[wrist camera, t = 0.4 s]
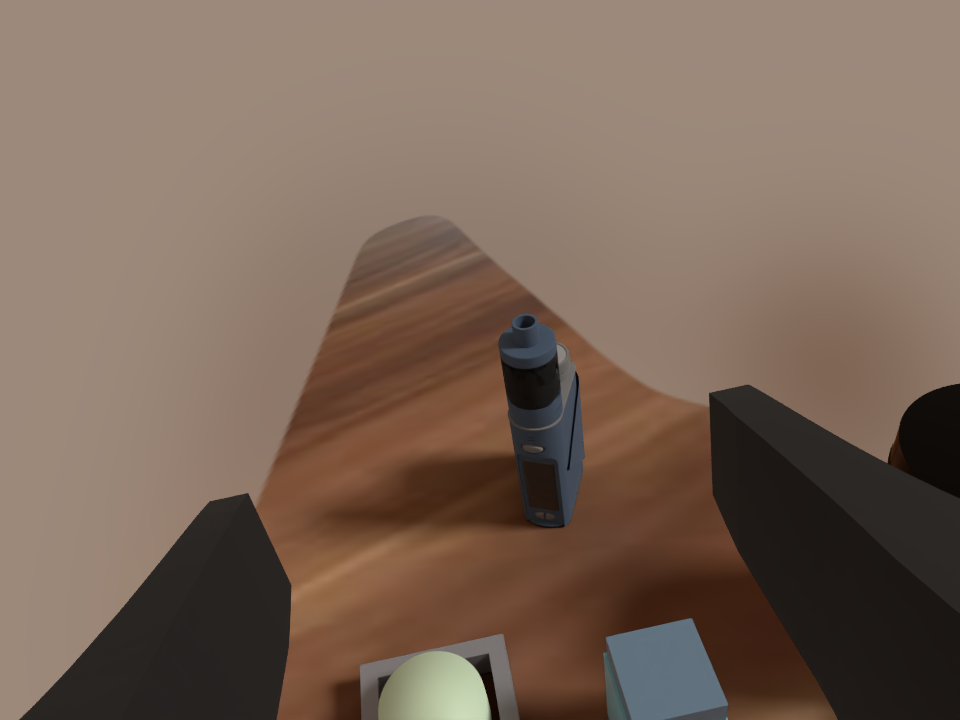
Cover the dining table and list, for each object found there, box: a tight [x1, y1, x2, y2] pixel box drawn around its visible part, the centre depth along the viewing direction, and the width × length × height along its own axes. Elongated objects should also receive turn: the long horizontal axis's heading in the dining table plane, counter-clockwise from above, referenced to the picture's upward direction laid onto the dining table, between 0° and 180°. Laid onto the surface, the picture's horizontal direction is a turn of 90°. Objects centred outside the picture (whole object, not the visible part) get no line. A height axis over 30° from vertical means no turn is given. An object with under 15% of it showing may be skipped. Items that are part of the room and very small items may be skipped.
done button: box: [378, 651, 492, 720], centre depth 27 cm, size 4×4×2 cm
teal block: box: [603, 618, 728, 720], centre depth 25 cm, size 3×3×6 cm
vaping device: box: [498, 314, 585, 527], centre depth 33 cm, size 3×5×12 cm, turn 163°
